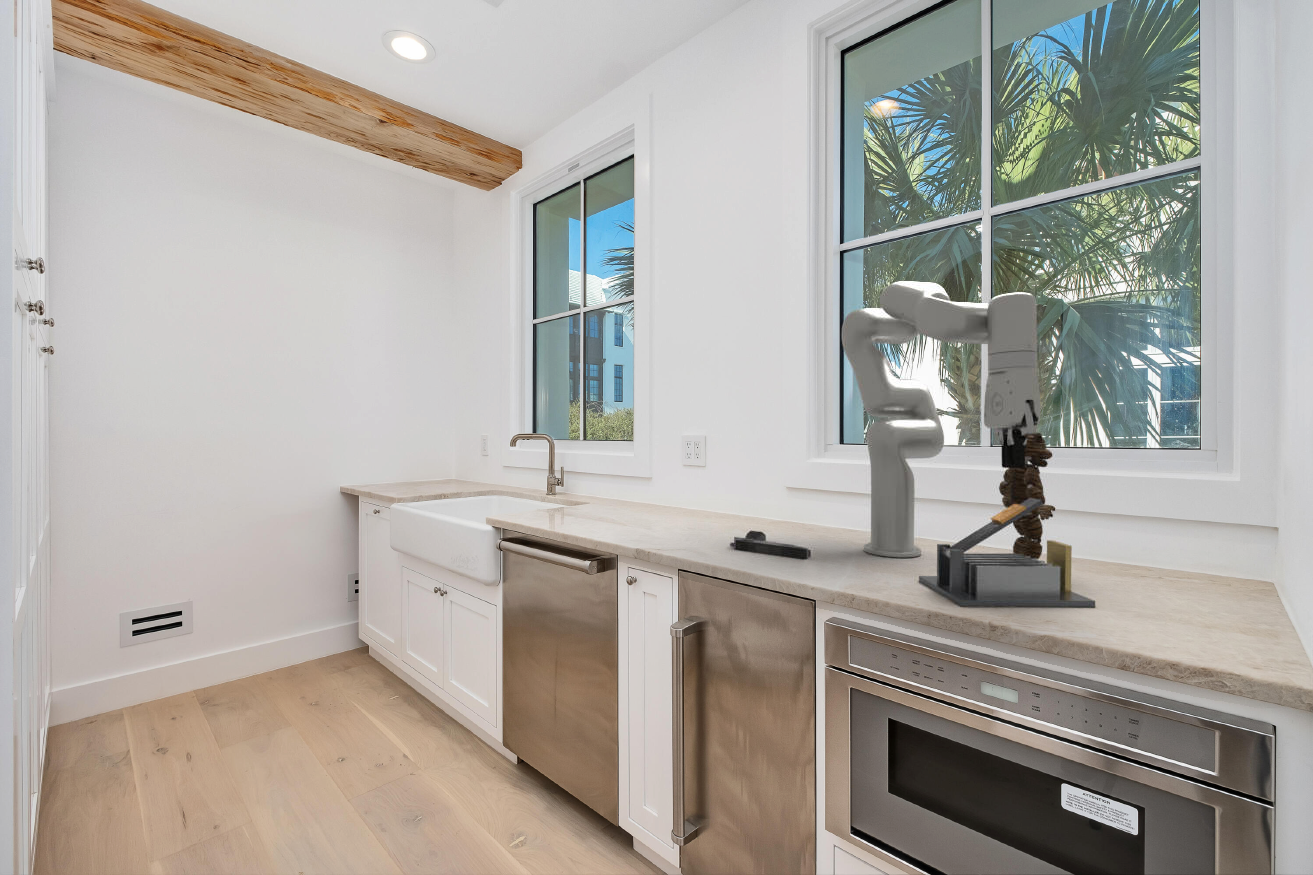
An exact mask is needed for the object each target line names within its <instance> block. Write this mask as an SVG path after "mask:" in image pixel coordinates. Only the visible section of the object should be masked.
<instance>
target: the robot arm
mask: <svg viewBox="0 0 1313 875" xmlns="http://www.w3.org/2000/svg"><path fill="white" fill-rule="evenodd" d="M879 303H880V304H879V305H880V307H881V308H877V307H867V308H859V309H855V310H852V311H851V312H849V313H848V314H847V315H846V316H845V318H844V320H843V323H842V327H841V342H842V347H843V350H844V353H845V356H846V357H847V360H848V361H849V363H850V365H851V368H852V370H853V372H854V375H855V380H856V383H857V386H858V390H859V394H860V397H861V401H862V404H863V407H864V409H865V411H866V413H867V414H868V415H869V416H871V417H875V418H881V419H879V420H876V421H873V423H871V424H870V426H869V427H868V429H867V433H866V445H867V449H868V450H867V451H868V456H869V464H870V542H869V543H865V544H863V551H864V552H866V553H868V554H871V555H875V556H879V557H880V556H881V557H889V558H915V557H919V556H921V555H922V549H921V547H918V546H915V475H914V473H913V470H912V469H911V467H910V464H909V463H908V462H907V460H908V459H913V460H914V459H930V458H934V457H936V456H938V455H939V454H940V453H941V452H942V450H943V448H944V445H945V444H944V443H945V435H944V434H945V433H944V429H943V426H942V423H941V420H940V417H939V414H938V410H937V408H936V405H935V403H934V400H933V396H932V394H931V391H930V390H929V388H928V387H927V386H926V385H925V384H924V383H923V382H922V381H920V380H917V379H910V378H909V379H908V378H899V377H897V376H895V374H894V373H893V369H892V366H891V363H890V361H889V359H888V358H887V356H886V355H885V354H884V353H883V352H882V351H881V350H880V349H879V348H878V347H876V345H875V344H892V345H893V344H895V345H903V344H906V343H909V342H911V341H913V340H914V339H915V338H917V337H918V336H919V335H922V336H924V337H927V338H930V339H933V340H937V341H938V342H939V341H940V342H944V343H950V344H953V343H954V344H973V345H975V344H976V345H987V379H986V385H985V394H984V404H983V405H984V406H983V407H984V408H983V411H984V412H983V423H984V426H985V427H986V428H988V429H992V430H993V432H992V433H993V435H995V436H997V437H999V439H998V440H999V444H1000V446H1001V467H1002V468H1004V469H1005V468H1006V469H1008V468H1024V467H1025V445H1026V444H1027V437H1028V435H1031V434H1033V433H1034V432H1035V429H1034V426H1038V425H1039V423H1040V420H1041V397H1040V384H1039V378H1038V373H1037V372H1038V336H1037V335H1038V334H1037V332H1038V329H1037V328H1038V327H1037V324H1038V323H1037V320H1038V319H1037V300H1036V297H1035V296H1034V295H1033V294H1031V293H1028V292H1010V293H1004V294H999V295H997V296H994V297H992V298H991V299H990V300H989V302H988V303H977V302H964V301H963V302H957V301H951V299H950V297H949V295H948V293H947V292H946V290H945V288H943V287H942V286H941V285H940V284H938V283H935V282H925V281H923V282H921V281H909V280H908V281H907V280H905V281H904V280H901V281H896V282H893V283H890V284H889V285H887V286H886V287H885V288H884V289H883V290H882V292H881V294H880V298H879Z"/></svg>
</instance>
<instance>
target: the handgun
mask: <svg viewBox="0 0 1313 875" xmlns="http://www.w3.org/2000/svg"><path fill="white" fill-rule="evenodd" d="M733 537H734V539H733V542H730V543H729V546H730V547H732V548H734V550H737V551H744V552H751V553H758V554H764V555H770V556H771V555H772V556H778V557H786V558H791V559H792V558H793V559H799V560H808V559H809V558H811V557H812V556H811V555H812V554H811V553H812V550H811V549H809V547H808V548H807V547H803V546H798V545H796V544H789V543H781V542H777V541H770V540H767V535H766V534H765V533H764V532H763V531H761V530H760V531H759V530H749V531H748V532H747V533H746V535H745V537H739V536H733Z"/></svg>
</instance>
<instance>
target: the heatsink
mask: <svg viewBox="0 0 1313 875" xmlns="http://www.w3.org/2000/svg"><path fill="white" fill-rule="evenodd" d="M949 547H951V544H949V543H937V545H936V548H937V549H936V557H937V558H936V575H919V576H918V582H920V583H921V584H923V585H925V586H927V587H928V588H930V589H931V590H933V591H934V592H936V593H938V594H939V595H941V596H942V597H944V598H946V599H948V600H949V601H951V602H953V603H955V604H956V605H958V606H960V607H961V608H962V607H964V606H966V607H967V606H970V607H972V606H974V607H975V606H1008V607H1007V608H1010V607H1011V606H1015V607H1014V608H1016V607H1017V606H1020V607H1019V608H1022V607H1023V608H1028V607H1029V608H1030V607H1031V608H1036V607H1037V608H1039V607H1040V608H1045V607H1046V608H1096V600H1094V599H1091V598H1089V597H1086V596H1084V595H1081V594H1079V593H1077V592H1075V591H1072V548H1073V547H1072V545H1070V544H1067V543H1063V542H1060V541H1056V540H1052V539H1049V540H1047V539H1046V561H1044V560H1039V559H1037V558H1031V556H1024V554H1022V553H1013V552H1011V553H1010V552H1009V553H1007V552H1006V553H1005V552H1003V553H1002V552H1001V553H1000V552H998V553H996V552H995V553H994V552H993V553H992V552H991V553H989V552H988V553H987V552H985V553H984V552H983V553H982V552H979V553H978V552H975V553H974V552H964V550H950V558H949V557H946V556H944V555H943V554H942V553H941V551H942V549H943V548H947V549H948V548H949ZM966 607H965V608H966ZM967 608H968V607H967ZM972 608H973V607H972ZM975 608H976V607H975ZM1011 608H1012V607H1011ZM1017 608H1018V607H1017Z"/></svg>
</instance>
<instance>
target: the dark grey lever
mask: <svg viewBox="0 0 1313 875" xmlns="http://www.w3.org/2000/svg"><path fill="white" fill-rule="evenodd" d="M1042 504H1043V502H1042V501H1041V500H1039V499H1034V498H1029V499H1028V500H1026V501H1024V502H1023V503H1021V504H1019V505H1018V504H1013V505H1011V506H1010V507H1008V508H1007V507H1006V508H1005V509H1003V510H1001V511H1000V512H998V513H997V514H995V515H994V516H992V517H990V520H991V521H990V522H989V523H987V524H985V525H983V526H982V527H981V528H979V529H977V530H975V531H974V532H972V533H970V534H969V535H968V536H965V537H964V538H962V539H961V540H960V541H958V542H956V543H954V544H953V545H950V547H949V548H948V549H947V548H943V549H942V551H941V553H942V554H943V555H944V556H946V557H949V558H950V550H964V553H967V551H969V550H971V549H972V548H974V547H975V546H977V545H978V544H980V543H982V542H984V541H985V540H987V539H988V538H990V537H991V536H993V535H995V534H996V533H999V531H1001V530H1003V529H1005V528H1006V527H1007V526H1010V525H1011V524H1013V522H1014V521H1016V520H1018V519H1019V518H1021V517H1023V516H1024V515H1026V514H1027V513H1029V512H1031V511H1032V510H1034V509H1036V508H1037V507H1039V506H1040V505H1042Z"/></svg>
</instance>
